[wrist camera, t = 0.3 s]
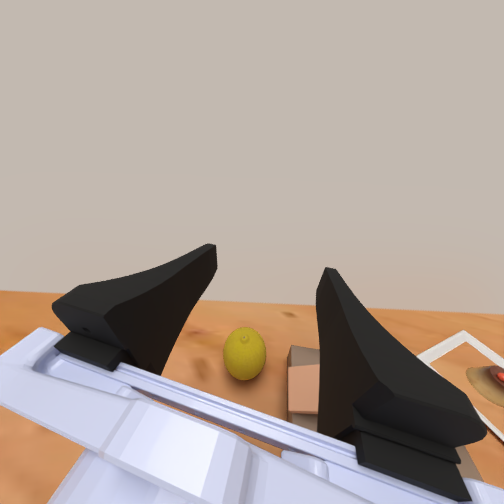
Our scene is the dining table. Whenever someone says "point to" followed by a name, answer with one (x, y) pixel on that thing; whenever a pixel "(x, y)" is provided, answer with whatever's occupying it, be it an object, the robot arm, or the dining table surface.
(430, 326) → the dining table surface
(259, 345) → the lemon
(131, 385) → the robot arm
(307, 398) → the bar
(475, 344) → the dessert
